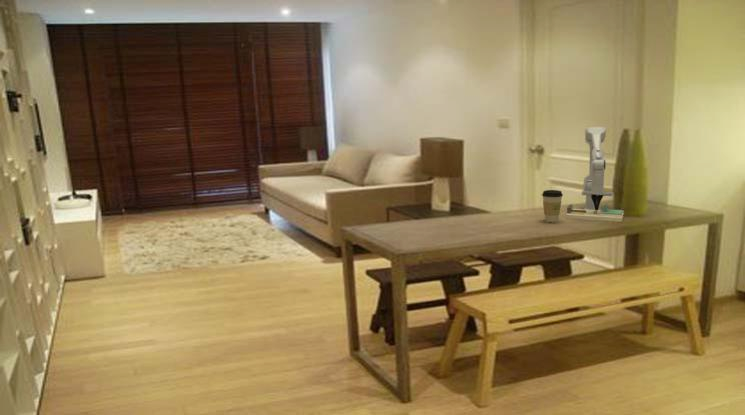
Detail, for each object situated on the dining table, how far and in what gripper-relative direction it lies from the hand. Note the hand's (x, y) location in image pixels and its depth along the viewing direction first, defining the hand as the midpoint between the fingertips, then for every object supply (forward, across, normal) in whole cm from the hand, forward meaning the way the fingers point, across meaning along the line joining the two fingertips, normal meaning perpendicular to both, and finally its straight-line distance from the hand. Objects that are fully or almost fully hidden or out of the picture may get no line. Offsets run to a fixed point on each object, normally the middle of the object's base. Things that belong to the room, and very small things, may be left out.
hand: (596, 209), depth 308 cm
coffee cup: (+4, -20, -15) cm, 25 cm away
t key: (+2, -10, +1) cm, 10 cm away
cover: (+2, +7, 0) cm, 8 cm away
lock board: (+4, -1, +1) cm, 4 cm away
